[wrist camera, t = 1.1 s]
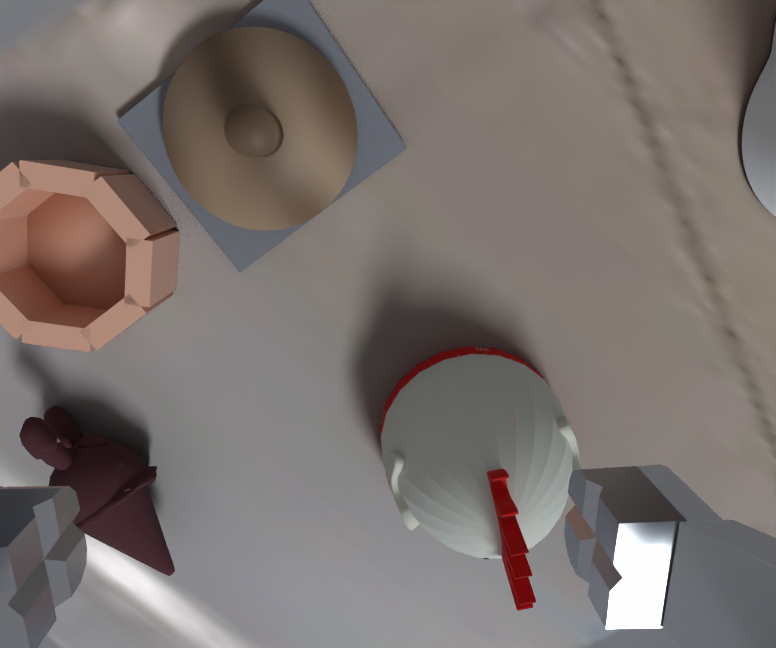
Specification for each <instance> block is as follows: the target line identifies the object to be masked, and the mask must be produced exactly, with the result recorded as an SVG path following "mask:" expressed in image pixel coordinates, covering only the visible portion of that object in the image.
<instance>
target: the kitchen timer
mask: <svg viewBox="0 0 776 648" xmlns="http://www.w3.org/2000/svg"><path fill="white" fill-rule="evenodd" d="M380 433H381V447H382V461H383V464H384V467H385V471H386V477H387V480H388V484H389V486H390V489H391V491H392V494H393V496H394V498H395V501H396V503H397V506H398V508H399V511H400V513H401V516H402V518H403V520H404V522H405V524H406V526H407V527H408V529H409V530H413V529H414V528H415V527H417V526H418V525H419V524H420V526H421V527H422V528H423V529H424V530H425V531H426V532H427V533H428V534H429V535H431V536H432V537H434V538H435V539H437V540H439V541H440V542H442V543H443V544H445V545H446V546H448V547H449V548H451V549H453V550H455V551H458V552H461V553H465V554H468V555H471V556H474V557H478V558H484V559H489V558H497V559H498V558H502V559H503V563H504V566H505V570H506V573H507V577H508V580H509V584H510V587H511V591H512V594H513V598H514V601H515V604H516V608H517V611H518V610H523V609H528V608H533V604H532V603H535V602H536V600H535V596H534V593H533V590H532V587H531V584H530V581H529V578H528V577H529V576H532V572H531V570H530V567H529V564H528V561H527V559H526V556H525V553H529V551H528V549H530V548H532V547H533V546H534V545H536V544H537V543H538V542H539V541H540V540H542V539H543V538H544V537H545V536H546V535H547V534H548V533H549V532H550V530H551V529H552V528H553V526H554V525H555V523H556V522H557V521H558V519H559V518H560V516H561V514H562V512H563V509H564V506H565V503H566V501H567V498H568V495H569V494H568V487H569V479H570V476H571V473H572V471H573V470H581V464H580V458H579V452H578V446H577V442H576V438H575V435H574V433H573V430H572V428H571V425H570V422H569V420H568V418H567V416H565V415H564V411H563V408H562V405H561V403H560V401H559V399H558V398H557V397H556V395H555V394H554V392H553V391H552V390H551V388H550V387H549V385H548V384H547V382H546V381H545V380H544V378H543V377H542V376H541V375H540V374H539V372H538V371H536V370H535V369H534V368H532V367H531V366H530V365H528V364H527V363H526V362H524V361H523V360H522V359H520V358H519V357H517V356H514V355H511V354H509V353H506V352H503V351H500V350H498V349H495V348H481V347H464V348H459V349H454V350H450V351H445V352H441V353H439V354H437V355H435V356H433V357H431V358H429V359H427V360H425V361H423V362H421V363H420V364H418V365H417V366H416V367H414V368H413V369H412V370H411V371H410V372H409V373H408V374H407V375H406V376H405V377H404V378H403V379H401V380H400V381H399V382H398V384H397V386H396V387H395V389H394V391H393V392H392V394H391V396H390V397H389V399H388V401H387V402H386V405H385V409H384V413H383V417H382V421H381V425H380Z"/></svg>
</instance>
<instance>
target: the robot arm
mask: <svg viewBox="0 0 776 648" xmlns="http://www.w3.org/2000/svg"><path fill="white" fill-rule="evenodd" d="M742 155H743V162H744V167H745V171H746V175H747V178H748V181H749V183H750V185H751V187H752V189H753V191H754V193H755V195H756V196H757V198H758V199H759V201H760V202H761V203H762V204H763V206H764V207H765V208H766V209H767V210H768V211H769V212H771V213H772V214H773V215H774V216H776V23H775V29H774V36H773V44H772V51H771V54H770V57H769V59H768V61H767V64H766V66H765V68H764V70H763V72H762V73H761V75H760V77H759V79H758V81H757V83H756V85H755V88H754V90H753V92H752V95H751V97H750V100H749V103H748V106H747V110H746V114H745V118H744V124H743V132H742ZM568 494H569V495H570V497H571V499H572V500H573V502H574V503H575V506H574V507H573V508H572V509H571V510H570V512H569V513H568V514H567V515H566V518H565V541H566V549H567V553H568V556H569V559H570V563H571V565H572V567H573V569H574V571H575V573H576V574H577V575H578V576H579V577H581V578H582V579H584V580H585V581H587V582H588V583H589V588H588V597H589V599H590V601H591V602H592V604H593V606H594V608H595V610H596V611H597V613H598V615H599V617H600V619H601V621H602V622H603V624H604V626H605V628H606V629H628V628H662V631H663V632H665V633H666V634H667V635H668V636H670V637H671V638H672V639H674V640H675V641H676V642H677V643H679V644H680V645H681V646H683V647H684V648H776V538H774V537H772V536H770V535H767V534H765V533H763V532H760V531H758V530H755V529H753V528H751V527H748V526H746V525H744V524H741V523H739V522H737V521H734V520H722V519H721V518H720V517H719V516H718V515H717V514H716V513H715V512H714V511H713V510H712V509H711V508H710V507H709V506H708V505H707V504H706V503H705V502H704V501H703V500H702V499H700V498H699V497H698V496H697V495H696V494H695V493H694V492H693V491H692V490H691V489H690V488H689V487H688V486H687V485H686V484H685V483H684V482H683V481H682V480H681V479H680V478H679V477H678V476H677V475H676V474H674V473H673V472H672V471H671V470H670V469H669V468H668V467H666V466H663V465H646V466H632V467H615V468H598V469H581V470H573V471H572V473H571V476H570V479H569V487H568ZM79 511H80V507H79V502H78V498H77V493H76V491H75V490H73V489H72V488H71V487H70V486H33V487H0V648H38V647H39V645H40V644H41V642H42V640H43V639H44V638H45V636H46V635H47V633H48V632H49V630H50V629H51V627H52V626H53V624H54V623H55V621H56V620H57V619H56V614H55V609H54V608H55V607H57V606H58V605H60V604H61V603H63V602H64V601H66V600H67V599H69V598H70V597H72V595H73V594H74V592H75V590H76V589H77V587H78V586H79V584H80V582H81V579H82V576H83V573H84V569H85V566H86V557H87V546H86V539H85V534H84V533H83V532H82V531H81V530H80V529H79V528H78V527H77V526H76V525H75V524H74V523H73V521H74V519H75V518H76V516H77V515H78V513H79Z"/></svg>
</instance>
